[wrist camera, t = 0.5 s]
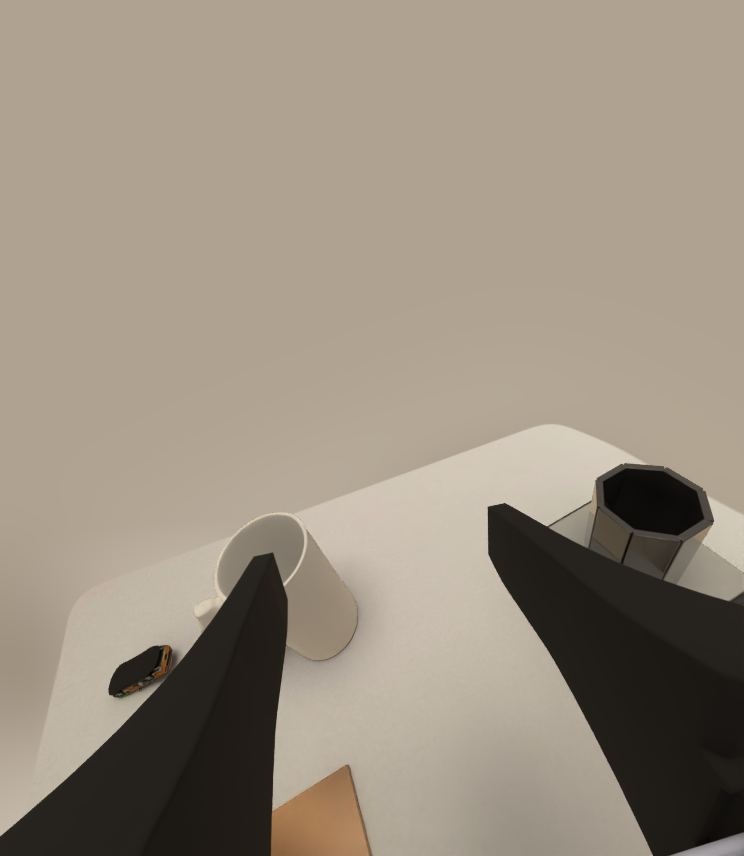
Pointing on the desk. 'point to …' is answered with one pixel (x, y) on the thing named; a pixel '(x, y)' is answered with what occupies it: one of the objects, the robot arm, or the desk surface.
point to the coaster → (321, 821)
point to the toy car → (140, 670)
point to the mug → (290, 584)
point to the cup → (648, 519)
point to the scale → (700, 575)
